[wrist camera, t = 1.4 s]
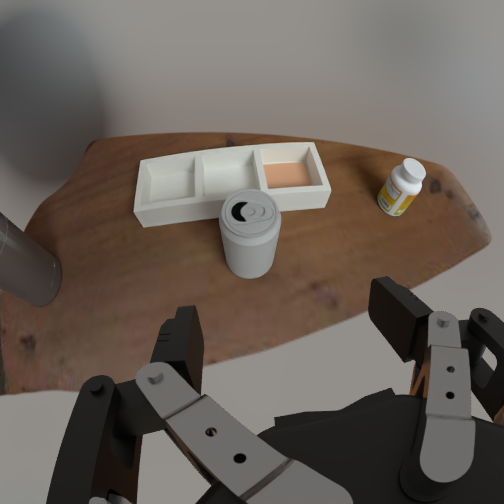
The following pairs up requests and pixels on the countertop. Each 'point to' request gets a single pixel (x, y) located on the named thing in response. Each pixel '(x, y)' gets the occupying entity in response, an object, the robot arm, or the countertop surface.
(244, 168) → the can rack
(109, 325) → the countertop surface
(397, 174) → the supplement bottle
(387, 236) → the countertop surface
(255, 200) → the beverage can
